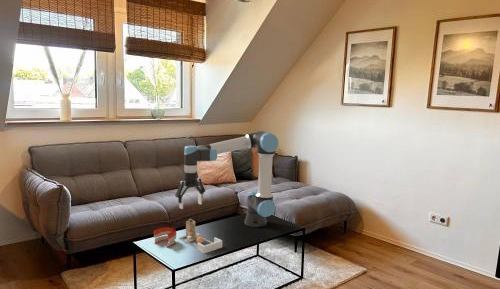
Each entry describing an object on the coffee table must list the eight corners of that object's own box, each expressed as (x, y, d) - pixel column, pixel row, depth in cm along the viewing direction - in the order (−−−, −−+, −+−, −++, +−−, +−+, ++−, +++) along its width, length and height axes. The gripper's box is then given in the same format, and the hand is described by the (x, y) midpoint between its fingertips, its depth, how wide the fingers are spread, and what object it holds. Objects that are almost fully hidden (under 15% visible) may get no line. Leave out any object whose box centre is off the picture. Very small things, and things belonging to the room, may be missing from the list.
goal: (215, 243, 217) (215, 237, 217) (222, 247, 213) (222, 240, 212) (197, 249, 208) (197, 243, 208) (204, 253, 204) (204, 246, 203)
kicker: (194, 236, 228) (194, 217, 227) (199, 238, 224) (199, 219, 223) (183, 239, 223) (183, 220, 221) (188, 242, 219) (188, 222, 217)
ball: (200, 241, 220) (200, 235, 220) (204, 243, 217) (204, 237, 217) (195, 243, 217) (195, 236, 217) (199, 245, 215) (199, 238, 214)
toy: (181, 242, 219) (181, 229, 218) (169, 248, 210) (168, 235, 209) (165, 237, 225) (165, 225, 224) (153, 243, 216) (152, 230, 215)
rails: (194, 234, 231) (194, 232, 231) (214, 244, 217) (214, 242, 217) (179, 239, 223) (179, 237, 223) (198, 249, 209) (198, 247, 209)
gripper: (203, 168, 230) (203, 200, 232) (169, 173, 212) (169, 208, 215) (211, 170, 224) (210, 203, 227) (176, 175, 207) (176, 211, 210)
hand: (190, 206), depth 221 cm, fingers open, 13 cm apart
